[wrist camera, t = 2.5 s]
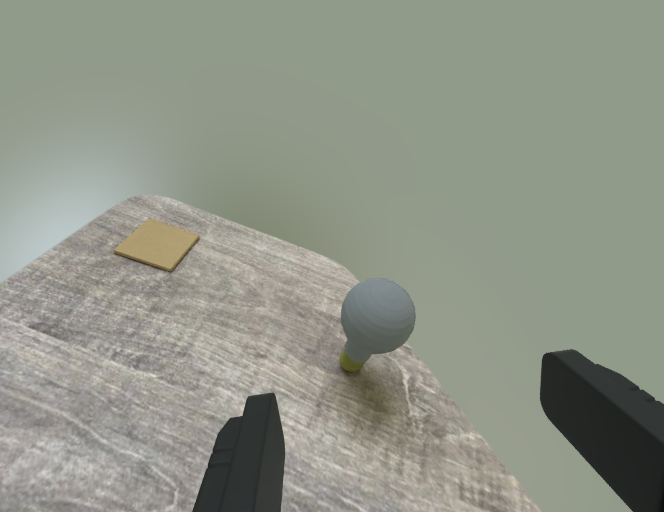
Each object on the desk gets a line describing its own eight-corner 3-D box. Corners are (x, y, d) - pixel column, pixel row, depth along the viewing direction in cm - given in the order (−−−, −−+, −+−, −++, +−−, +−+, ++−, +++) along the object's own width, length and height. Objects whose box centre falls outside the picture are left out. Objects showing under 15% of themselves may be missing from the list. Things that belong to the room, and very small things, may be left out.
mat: (170, 272, 33) (170, 269, 32) (113, 253, 32) (113, 250, 32) (199, 237, 37) (199, 234, 37) (149, 220, 37) (148, 217, 36)
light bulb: (390, 369, 31) (441, 299, 25) (352, 408, 28) (401, 338, 21) (347, 327, 33) (383, 253, 27) (306, 359, 30) (338, 282, 23)
